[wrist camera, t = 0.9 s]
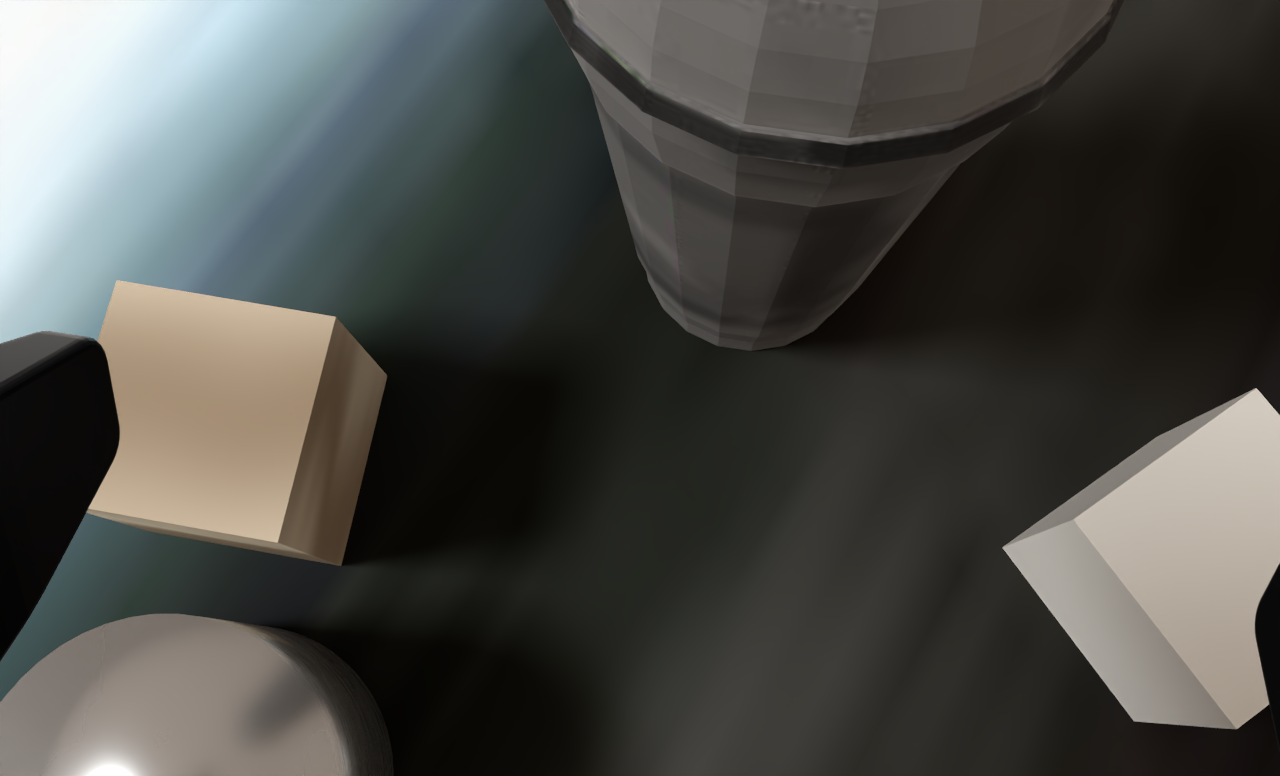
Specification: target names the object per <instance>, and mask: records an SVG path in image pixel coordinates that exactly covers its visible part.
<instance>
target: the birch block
mask: <svg viewBox="0 0 1280 776" xmlns="http://www.w3.org/2000/svg"><path fill="white" fill-rule="evenodd" d="M98 343H100V344H101V346H102V347H103V349H104V351H105V353H106V356H107V360H108V365H109V371H110V376H111V381H112V387H113V392H114V398H115V403H116V408H117V414H118V419H119V425H120V440H119V446H118V450H117V453H116V456H115V458H114V461H113V463H112V465H111V467H110V469H109V470H108V472H107V474H106V476H105V478H104V480H103V482H102V484H101V485H100V487H99V489H98V491H97V493H96V495H95V497H94V499H93V501H92V502H91V504H90V506H89V508H88V510H87V512H86V513H89V514H92V515H96V516H99V517H102V518H106V519H109V520H113V521H116V522H119V523H123V524H126V525H130V526H133V527H136V528H140V529H143V530H147V531H150V532H156V533H162V534H167V535H173V536H178V537H184V538H189V539H195V540H200V541H206V542H212V543H217V544H223V545H228V546H234V547H239V548H245V549H250V550H256V551H262V552H267V553H273V554H278V555H284V556H289V557H295V558H300V559H306V560H311V561H317V562H323V563H328V564H334V565H339V566H341V565H342V561H343V557H344V553H345V548H346V544H347V540H348V536H349V532H350V528H351V524H352V520H353V516H354V511H355V507H356V503H357V499H358V495H359V491H360V487H361V483H362V478H363V474H364V470H365V466H366V462H367V458H368V454H369V450H370V445H371V441H372V437H373V433H374V429H375V425H376V421H377V417H378V412H379V408H380V404H381V400H382V396H383V392H384V388H385V384H386V380H387V375H386V373H385V372H384V371H383V370H382V369H381V368H380V367H379V366H378V364H377V363H376V362H375V361H374V360H373V359H372V358H371V356H370V355H369V354H368V353H367V352H366V351H365V350H364V348H363V347H362V346H361V345H360V344H359V343H358V342H357V340H356V339H355V338H354V337H353V336H352V335H351V334H350V332H349V331H348V330H347V329H346V328H345V327H344V326H343V324H342V323H341V322H340V321H339V320H338V319H337V318H336V317H334V316H328V315H322V314H316V313H310V312H304V311H298V310H292V309H286V308H280V307H274V306H268V305H262V304H256V303H250V302H244V301H238V300H232V299H226V298H220V297H214V296H208V295H202V294H196V293H190V292H184V291H178V290H172V289H166V288H160V287H154V286H148V285H143V284H137V283H131V282H125V281H119V280H117V281H116V284H115V287H114V290H113V293H112V297H111V300H110V303H109V306H108V310H107V313H106V316H105V319H104V322H103V326H102V329H101V332H100V335H99V338H98Z"/></svg>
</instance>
